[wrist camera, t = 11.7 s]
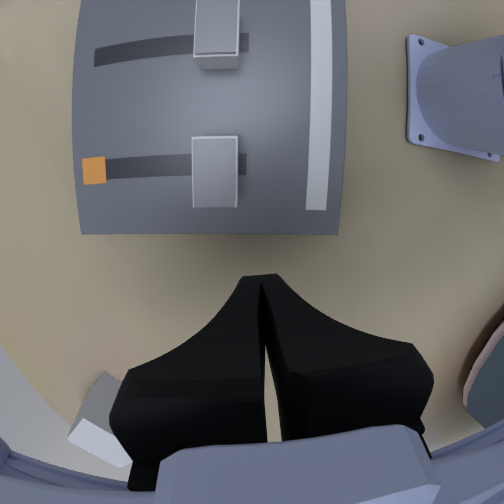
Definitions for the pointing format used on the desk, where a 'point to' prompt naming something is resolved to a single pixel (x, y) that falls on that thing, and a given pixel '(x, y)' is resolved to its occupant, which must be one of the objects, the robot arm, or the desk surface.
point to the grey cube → (99, 423)
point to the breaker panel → (209, 113)
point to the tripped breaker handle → (215, 171)
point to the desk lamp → (487, 382)
